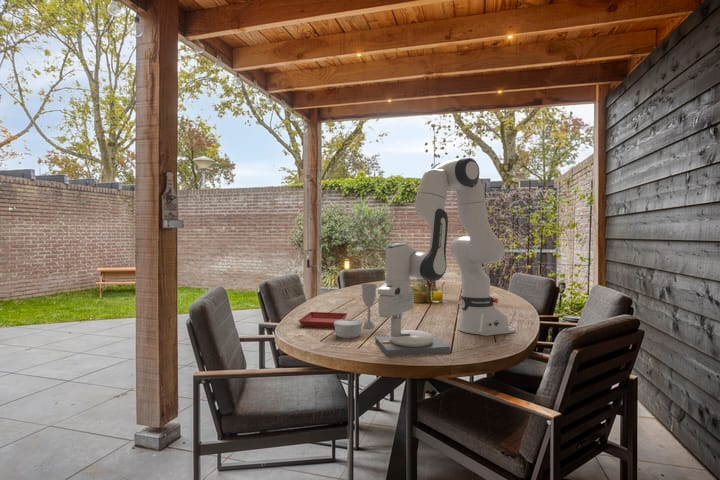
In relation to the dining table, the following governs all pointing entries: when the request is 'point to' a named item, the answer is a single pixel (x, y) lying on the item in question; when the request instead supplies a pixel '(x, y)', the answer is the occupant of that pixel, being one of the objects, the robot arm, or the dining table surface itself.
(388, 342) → the dial board
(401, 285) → the robot arm
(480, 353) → the dining table surface
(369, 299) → the chalice
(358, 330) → the ramekin
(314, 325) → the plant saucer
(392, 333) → the dial
